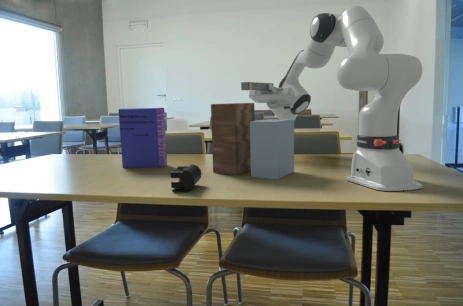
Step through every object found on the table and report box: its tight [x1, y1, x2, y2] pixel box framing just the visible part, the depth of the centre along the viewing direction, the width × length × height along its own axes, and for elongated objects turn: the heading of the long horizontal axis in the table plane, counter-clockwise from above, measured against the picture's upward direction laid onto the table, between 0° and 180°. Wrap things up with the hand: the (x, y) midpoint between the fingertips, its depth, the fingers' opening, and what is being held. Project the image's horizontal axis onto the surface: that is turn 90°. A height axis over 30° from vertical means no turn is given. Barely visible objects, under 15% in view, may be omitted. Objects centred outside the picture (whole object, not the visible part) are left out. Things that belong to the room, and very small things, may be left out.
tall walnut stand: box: [210, 102, 256, 176], centre depth 134 cm, size 14×10×25 cm
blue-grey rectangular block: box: [250, 118, 295, 180], centre depth 125 cm, size 14×10×19 cm
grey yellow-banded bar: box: [240, 81, 274, 91], centre depth 147 cm, size 22×4×3 cm, turn 147°
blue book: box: [118, 107, 168, 169], centre depth 147 cm, size 17×5×24 cm, turn 84°
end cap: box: [170, 164, 202, 193], centre depth 109 cm, size 10×7×7 cm
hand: (264, 85), depth 151 cm, fingers closed on grey yellow-banded bar, 3 cm apart
